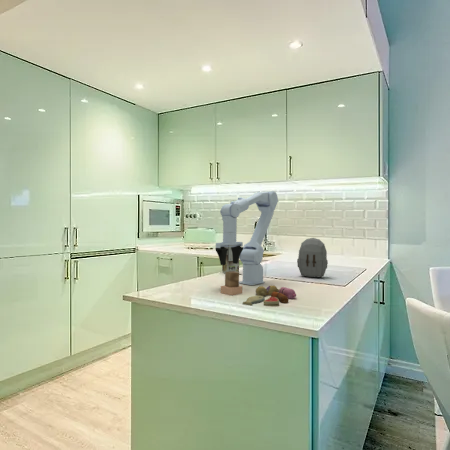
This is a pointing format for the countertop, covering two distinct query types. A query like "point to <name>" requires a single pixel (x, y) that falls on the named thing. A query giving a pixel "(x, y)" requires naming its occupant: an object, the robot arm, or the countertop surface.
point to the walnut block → (232, 279)
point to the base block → (231, 290)
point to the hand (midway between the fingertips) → (229, 264)
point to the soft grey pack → (312, 258)
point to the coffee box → (230, 262)
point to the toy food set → (276, 296)
